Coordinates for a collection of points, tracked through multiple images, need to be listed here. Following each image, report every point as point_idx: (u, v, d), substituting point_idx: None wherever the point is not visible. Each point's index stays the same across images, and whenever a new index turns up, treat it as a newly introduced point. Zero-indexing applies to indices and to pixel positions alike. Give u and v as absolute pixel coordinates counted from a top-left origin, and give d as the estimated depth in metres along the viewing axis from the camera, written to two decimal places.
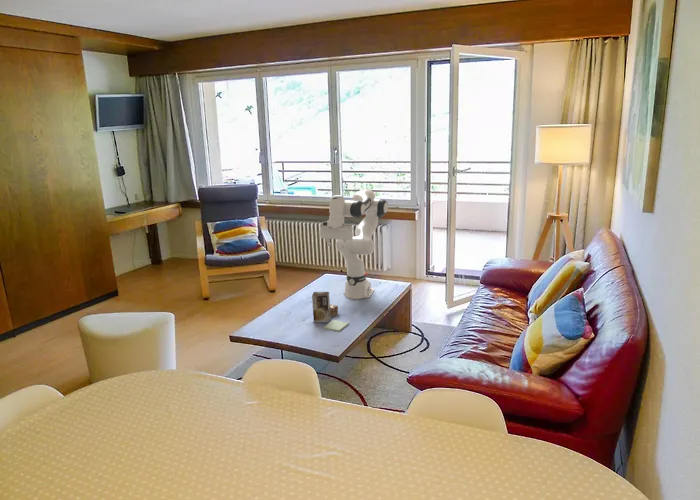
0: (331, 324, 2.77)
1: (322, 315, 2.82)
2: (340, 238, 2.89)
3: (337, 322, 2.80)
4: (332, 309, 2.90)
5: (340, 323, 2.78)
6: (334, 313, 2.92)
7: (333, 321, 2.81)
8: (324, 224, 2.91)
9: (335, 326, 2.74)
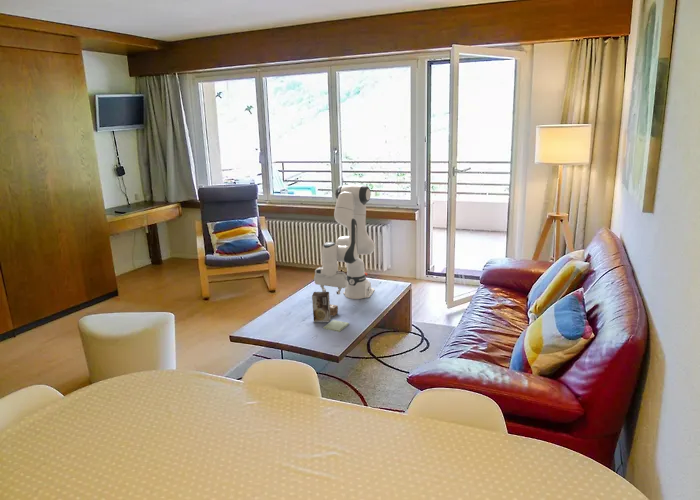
0: (331, 324, 2.77)
1: (322, 315, 2.82)
2: (334, 285, 2.86)
3: (337, 322, 2.80)
4: (332, 309, 2.90)
5: (340, 323, 2.78)
6: (334, 313, 2.92)
7: (333, 321, 2.81)
8: (318, 272, 2.88)
9: (335, 326, 2.74)
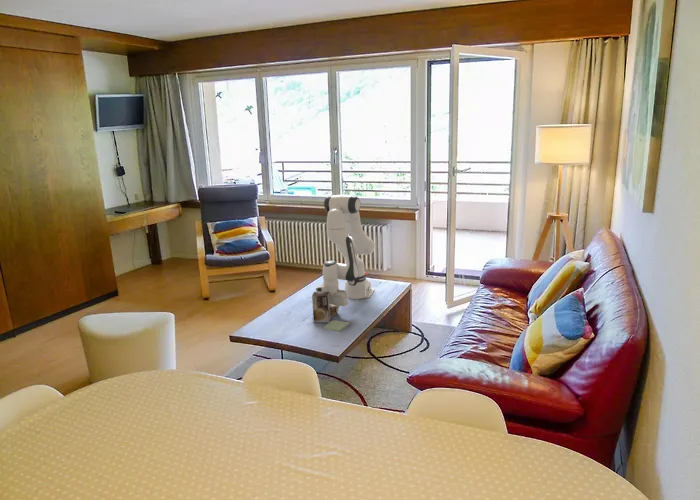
0: (331, 324, 2.77)
1: (322, 315, 2.82)
2: (335, 303, 2.89)
3: (337, 322, 2.80)
4: (332, 309, 2.90)
5: (340, 323, 2.78)
6: (334, 313, 2.92)
7: (333, 321, 2.81)
8: (318, 290, 2.90)
9: (335, 326, 2.74)
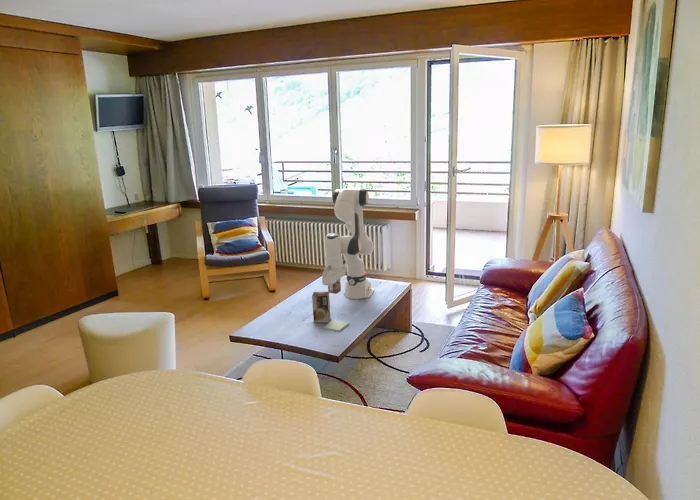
0: (331, 324, 2.77)
1: (322, 315, 2.82)
2: None
3: (337, 322, 2.80)
4: None
5: (340, 323, 2.78)
6: (329, 290, 2.70)
7: (333, 321, 2.81)
8: None
9: (335, 326, 2.74)
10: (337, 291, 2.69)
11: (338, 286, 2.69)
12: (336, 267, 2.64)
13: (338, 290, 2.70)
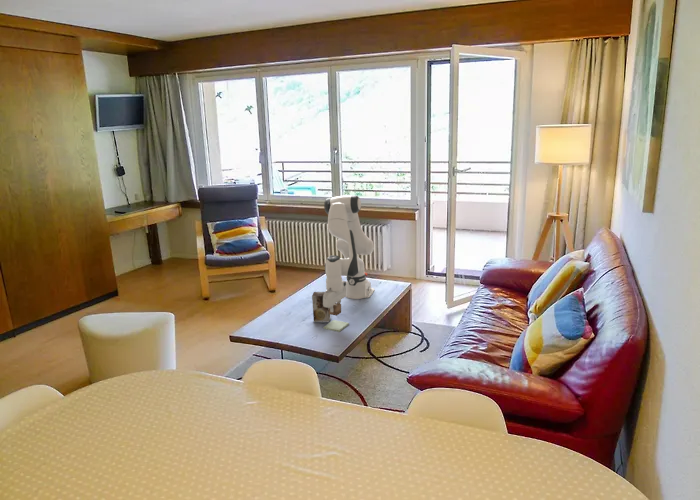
0: (331, 324, 2.77)
1: (322, 315, 2.82)
2: None
3: (337, 322, 2.80)
4: None
5: (340, 323, 2.78)
6: None
7: (333, 321, 2.81)
8: None
9: (335, 326, 2.74)
10: (338, 313, 2.72)
11: (339, 308, 2.72)
12: (337, 289, 2.67)
13: (339, 312, 2.73)
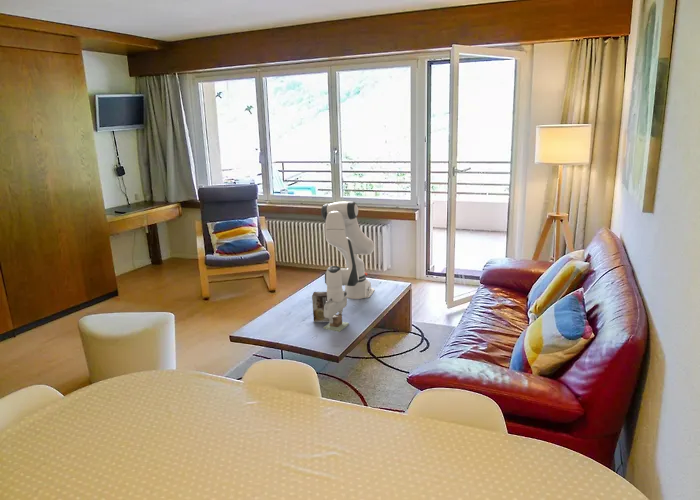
0: None
1: (322, 315, 2.82)
2: None
3: None
4: None
5: None
6: (331, 323, 2.75)
7: None
8: None
9: None
10: (338, 324, 2.74)
11: (339, 319, 2.74)
12: (337, 300, 2.68)
13: (339, 323, 2.75)
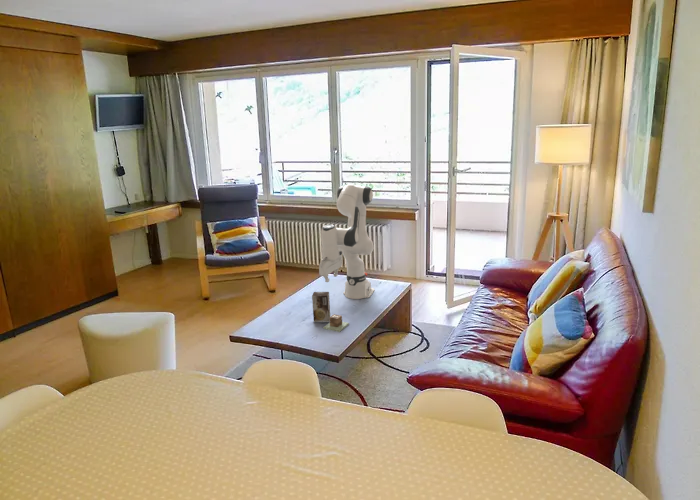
0: None
1: (322, 315, 2.82)
2: None
3: None
4: None
5: None
6: (331, 323, 2.75)
7: None
8: None
9: None
10: (338, 324, 2.74)
11: (339, 319, 2.74)
12: (333, 258, 2.67)
13: (339, 323, 2.75)
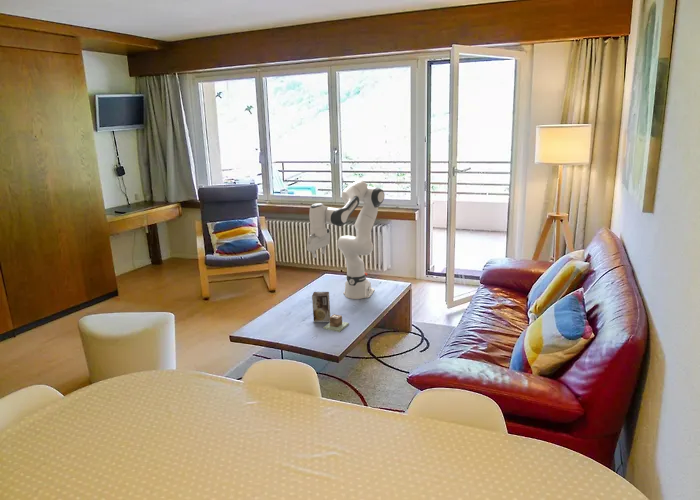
0: None
1: (322, 315, 2.82)
2: None
3: None
4: None
5: None
6: (331, 323, 2.75)
7: None
8: None
9: None
10: (338, 324, 2.74)
11: (339, 319, 2.74)
12: (320, 235, 2.81)
13: (339, 323, 2.75)
